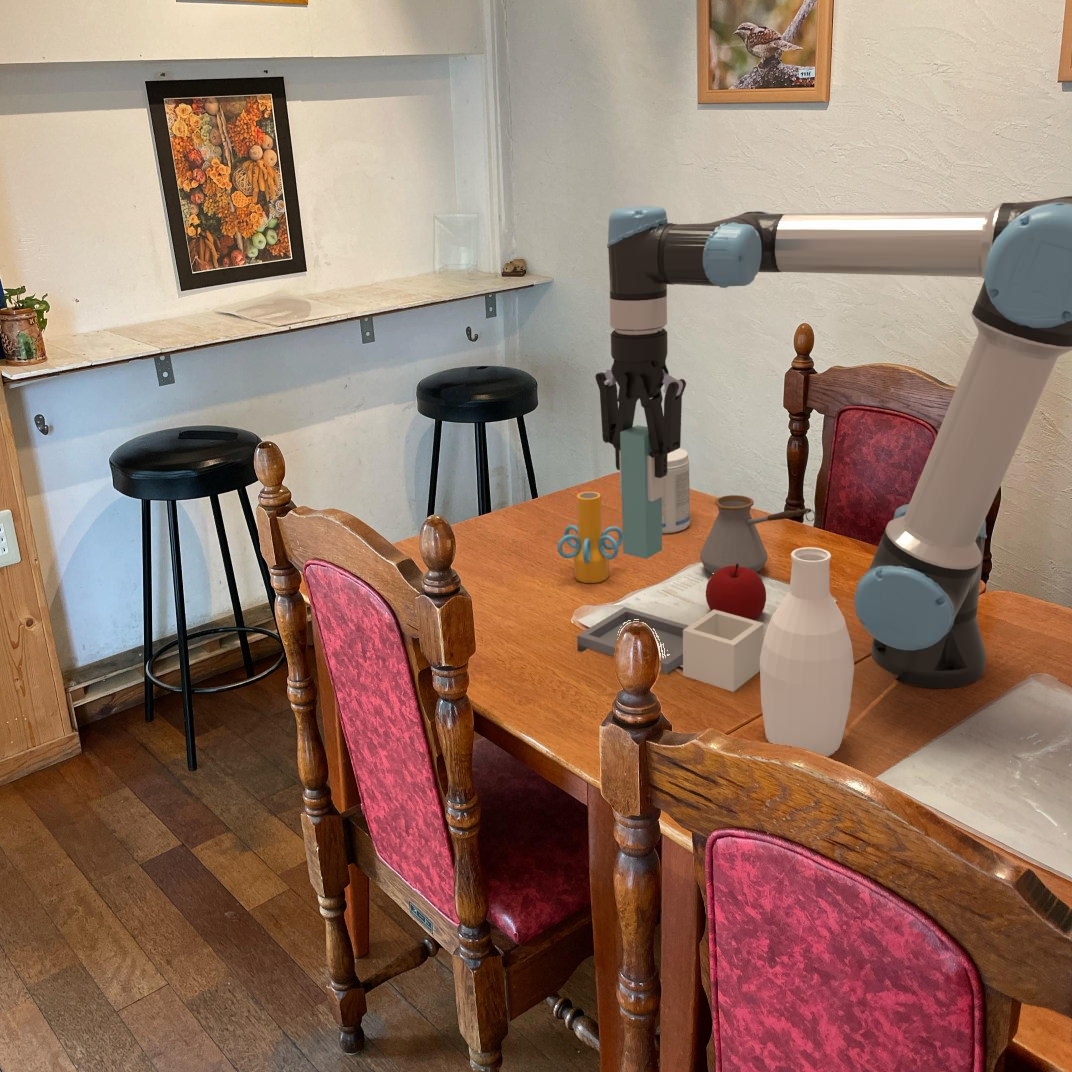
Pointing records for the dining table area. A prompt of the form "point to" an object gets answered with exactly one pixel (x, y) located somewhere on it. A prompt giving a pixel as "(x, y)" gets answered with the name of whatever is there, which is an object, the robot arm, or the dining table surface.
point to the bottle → (807, 661)
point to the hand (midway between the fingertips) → (641, 494)
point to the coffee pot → (738, 535)
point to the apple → (736, 592)
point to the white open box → (722, 649)
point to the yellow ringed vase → (590, 541)
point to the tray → (668, 631)
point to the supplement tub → (676, 493)
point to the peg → (638, 496)
